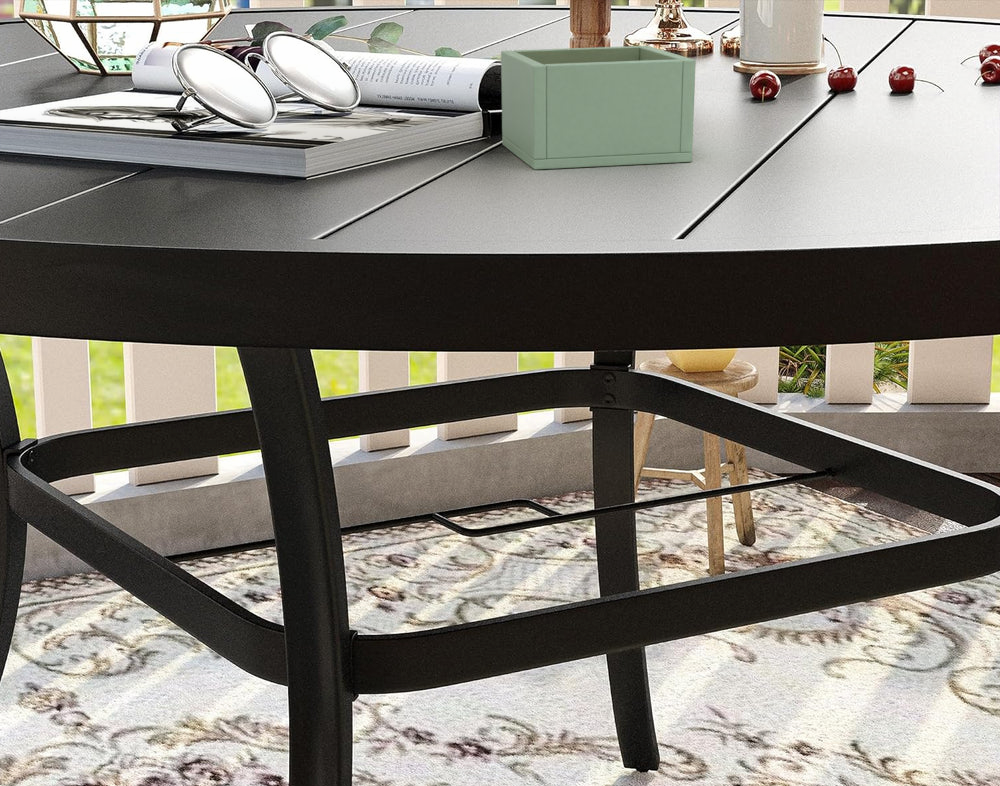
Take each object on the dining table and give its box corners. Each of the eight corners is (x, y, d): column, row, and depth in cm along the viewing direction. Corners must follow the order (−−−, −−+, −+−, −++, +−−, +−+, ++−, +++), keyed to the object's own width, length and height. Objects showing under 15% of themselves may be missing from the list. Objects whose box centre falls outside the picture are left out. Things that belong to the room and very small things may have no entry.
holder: (534, 169, 86) (533, 65, 83) (502, 144, 95) (500, 50, 92) (692, 161, 87) (696, 59, 85) (646, 138, 96) (648, 45, 94)
